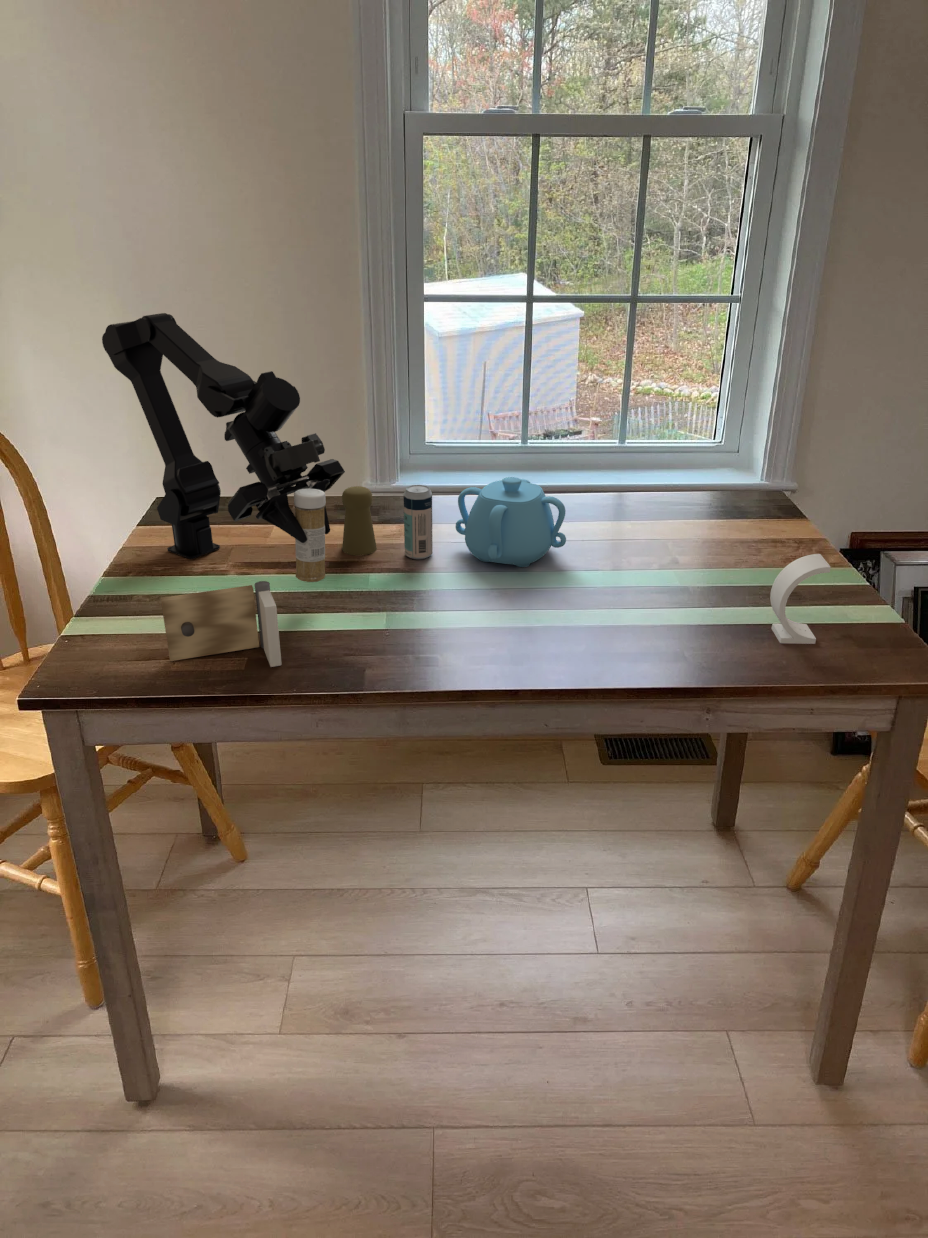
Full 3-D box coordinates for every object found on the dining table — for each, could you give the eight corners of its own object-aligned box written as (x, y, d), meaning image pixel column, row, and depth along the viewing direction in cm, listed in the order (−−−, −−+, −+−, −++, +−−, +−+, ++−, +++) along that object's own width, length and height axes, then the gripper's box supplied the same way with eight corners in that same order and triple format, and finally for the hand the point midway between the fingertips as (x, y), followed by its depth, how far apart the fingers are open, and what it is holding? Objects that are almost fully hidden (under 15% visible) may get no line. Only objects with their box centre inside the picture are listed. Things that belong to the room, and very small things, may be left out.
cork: (374, 555, 161) (372, 494, 156) (339, 555, 161) (336, 494, 156) (378, 542, 167) (376, 482, 162) (344, 541, 167) (341, 482, 162)
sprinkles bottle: (319, 570, 146) (319, 486, 140) (329, 581, 142) (329, 494, 137) (291, 574, 144) (289, 488, 138) (300, 584, 140) (299, 497, 134)
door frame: (259, 643, 133) (253, 582, 129) (273, 641, 134) (268, 580, 129) (268, 667, 127) (262, 604, 123) (283, 664, 128) (277, 601, 123)
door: (257, 643, 133) (251, 585, 128) (260, 650, 131) (254, 592, 126) (169, 657, 129) (160, 597, 125) (171, 665, 127) (161, 605, 123)
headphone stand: (815, 643, 135) (830, 567, 129) (772, 643, 135) (786, 566, 129) (805, 628, 139) (820, 553, 133) (764, 628, 139) (777, 553, 133)
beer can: (437, 552, 163) (437, 486, 157) (424, 562, 159) (424, 495, 153) (412, 548, 164) (411, 482, 159) (399, 557, 161) (398, 490, 155)
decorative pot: (572, 567, 158) (577, 490, 152) (482, 579, 153) (484, 499, 147) (534, 532, 172) (538, 460, 166) (450, 542, 167) (451, 468, 161)
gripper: (232, 432, 128) (291, 529, 127) (334, 406, 141) (388, 494, 140) (203, 474, 136) (258, 565, 135) (301, 446, 149) (352, 529, 148)
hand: (316, 537), depth 139 cm, fingers closed on sprinkles bottle, 4 cm apart
